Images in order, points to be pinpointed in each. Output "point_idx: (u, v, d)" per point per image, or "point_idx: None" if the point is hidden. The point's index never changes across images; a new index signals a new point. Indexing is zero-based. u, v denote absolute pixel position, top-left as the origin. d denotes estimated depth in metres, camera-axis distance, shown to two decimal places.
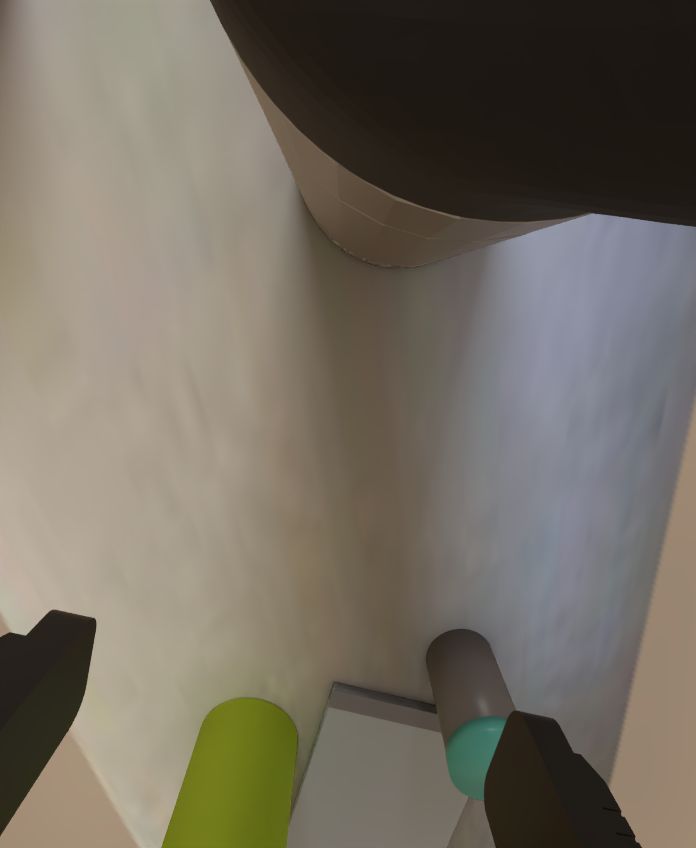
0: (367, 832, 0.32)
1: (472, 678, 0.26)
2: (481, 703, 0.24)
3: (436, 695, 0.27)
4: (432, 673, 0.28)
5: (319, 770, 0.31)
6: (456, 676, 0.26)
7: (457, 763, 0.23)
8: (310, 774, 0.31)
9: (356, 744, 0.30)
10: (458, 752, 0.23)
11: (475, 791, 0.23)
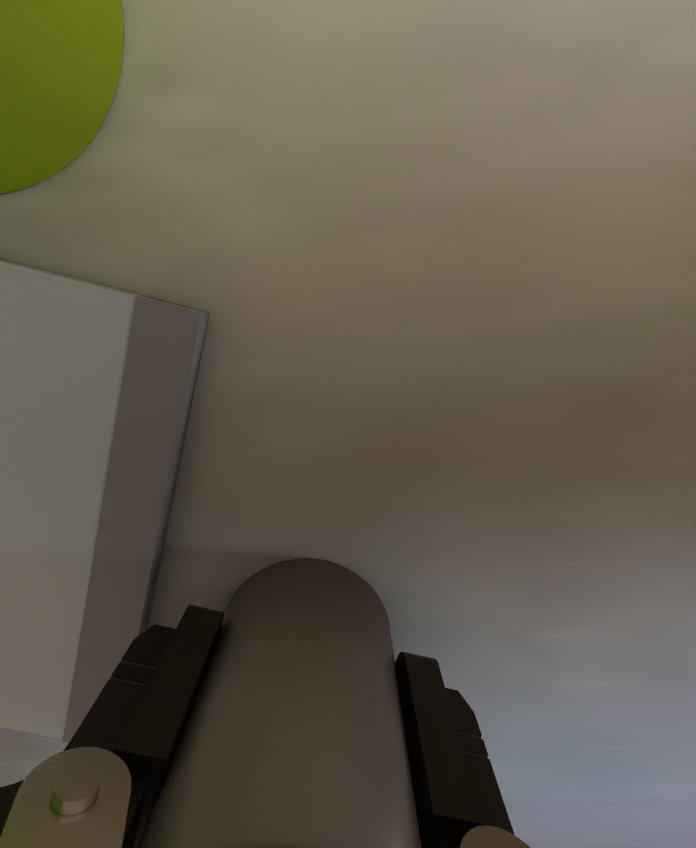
0: None
1: (409, 770, 0.08)
2: None
3: (308, 657, 0.08)
4: (319, 607, 0.10)
5: None
6: (392, 713, 0.08)
7: None
8: None
9: (3, 387, 0.10)
10: None
11: None
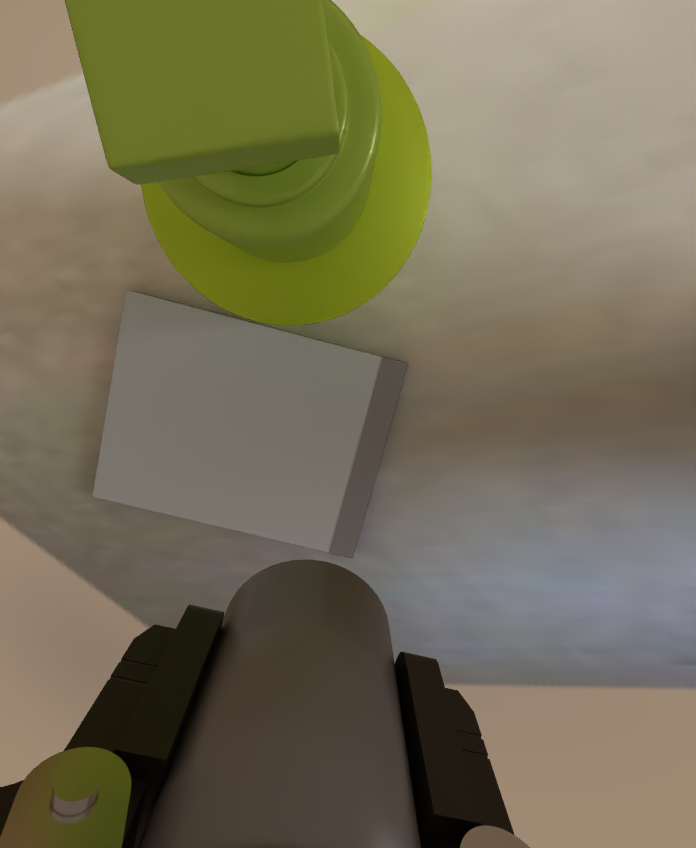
0: (180, 412, 0.24)
1: (409, 771, 0.08)
2: None
3: (308, 658, 0.08)
4: (319, 607, 0.10)
5: (280, 346, 0.23)
6: (392, 714, 0.08)
7: None
8: (273, 334, 0.23)
9: (324, 393, 0.24)
10: None
11: None
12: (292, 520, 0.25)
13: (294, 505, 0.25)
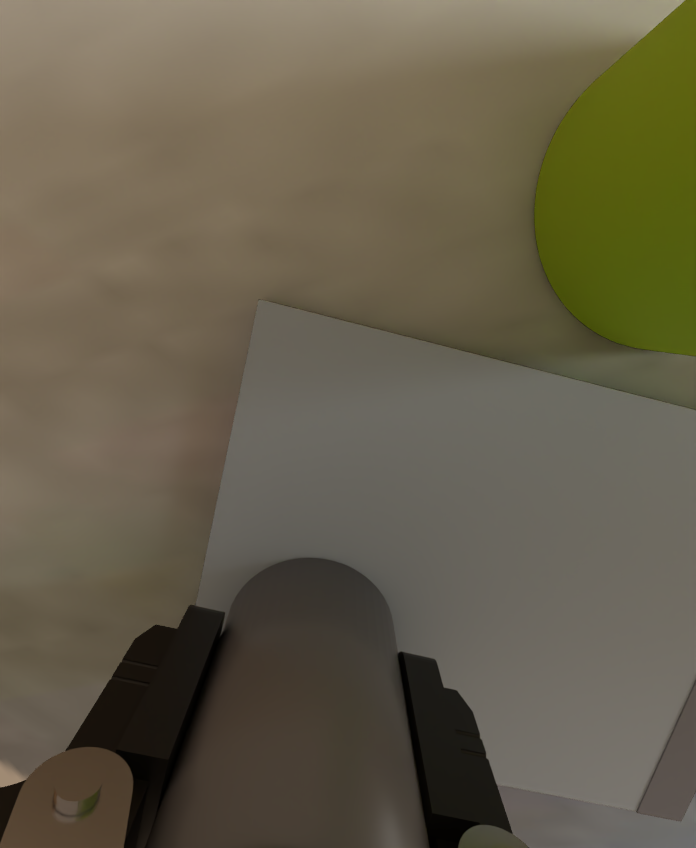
0: (362, 556, 0.11)
1: None
2: None
3: (319, 658, 0.08)
4: (328, 607, 0.10)
5: (589, 418, 0.11)
6: (401, 716, 0.08)
7: None
8: (576, 392, 0.11)
9: (668, 514, 0.11)
10: None
11: None
12: (571, 756, 0.13)
13: (579, 729, 0.12)
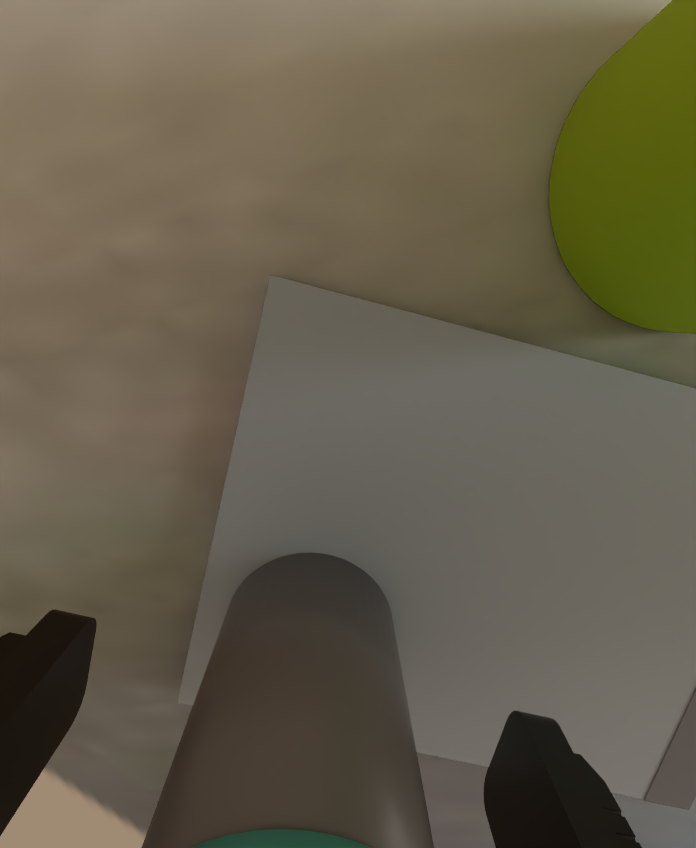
0: (370, 537, 0.11)
1: (418, 764, 0.08)
2: None
3: (320, 647, 0.08)
4: (329, 599, 0.10)
5: (603, 399, 0.11)
6: (402, 706, 0.08)
7: None
8: (589, 373, 0.11)
9: (681, 497, 0.11)
10: None
11: None
12: (579, 742, 0.13)
13: (587, 715, 0.12)
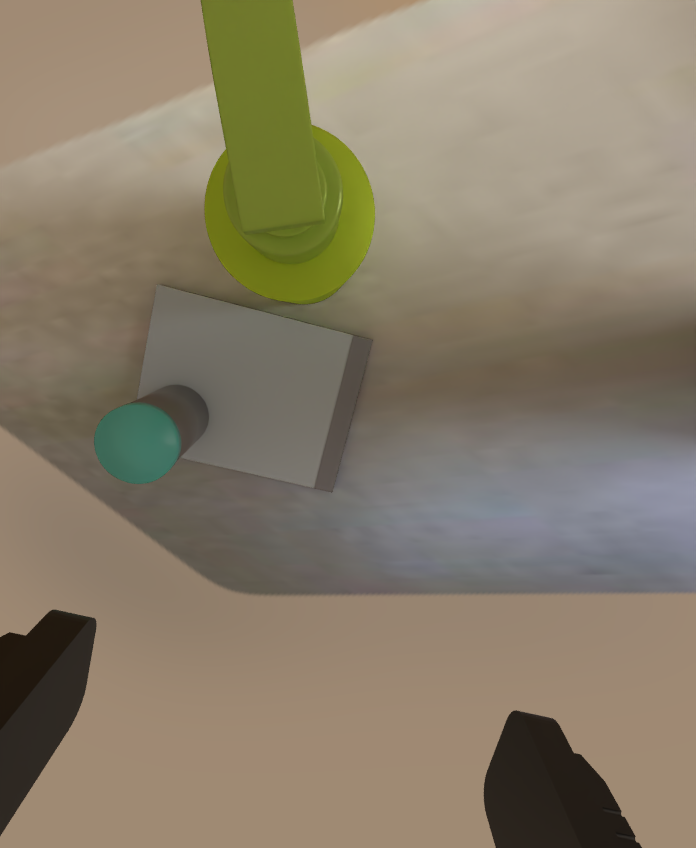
0: (198, 378, 0.31)
1: (192, 426, 0.28)
2: (184, 434, 0.26)
3: (165, 394, 0.28)
4: (175, 390, 0.30)
5: (275, 327, 0.31)
6: (189, 411, 0.28)
7: (137, 413, 0.24)
8: (270, 318, 0.31)
9: (309, 363, 0.31)
10: (151, 414, 0.24)
11: (104, 431, 0.25)
12: (285, 463, 0.33)
13: (286, 451, 0.33)
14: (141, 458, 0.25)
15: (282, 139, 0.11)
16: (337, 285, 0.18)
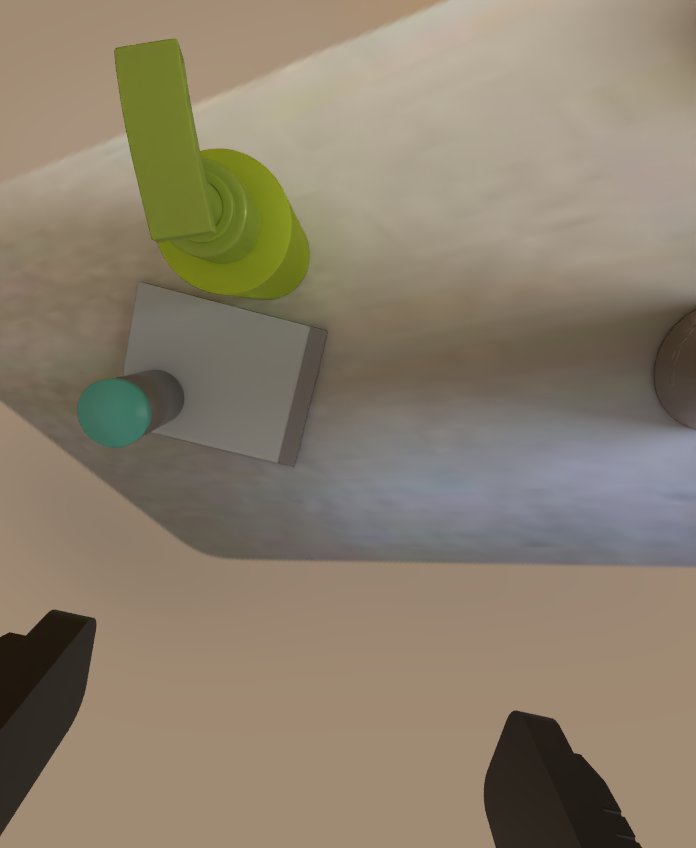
0: (174, 364, 0.36)
1: (165, 403, 0.32)
2: (155, 408, 0.31)
3: (143, 375, 0.33)
4: (154, 373, 0.34)
5: (241, 319, 0.35)
6: (163, 391, 0.33)
7: (115, 386, 0.29)
8: (236, 311, 0.35)
9: (271, 351, 0.36)
10: (126, 387, 0.29)
11: (86, 400, 0.29)
12: (252, 440, 0.37)
13: (253, 429, 0.37)
14: (116, 425, 0.29)
15: (177, 173, 0.15)
16: (262, 281, 0.23)
